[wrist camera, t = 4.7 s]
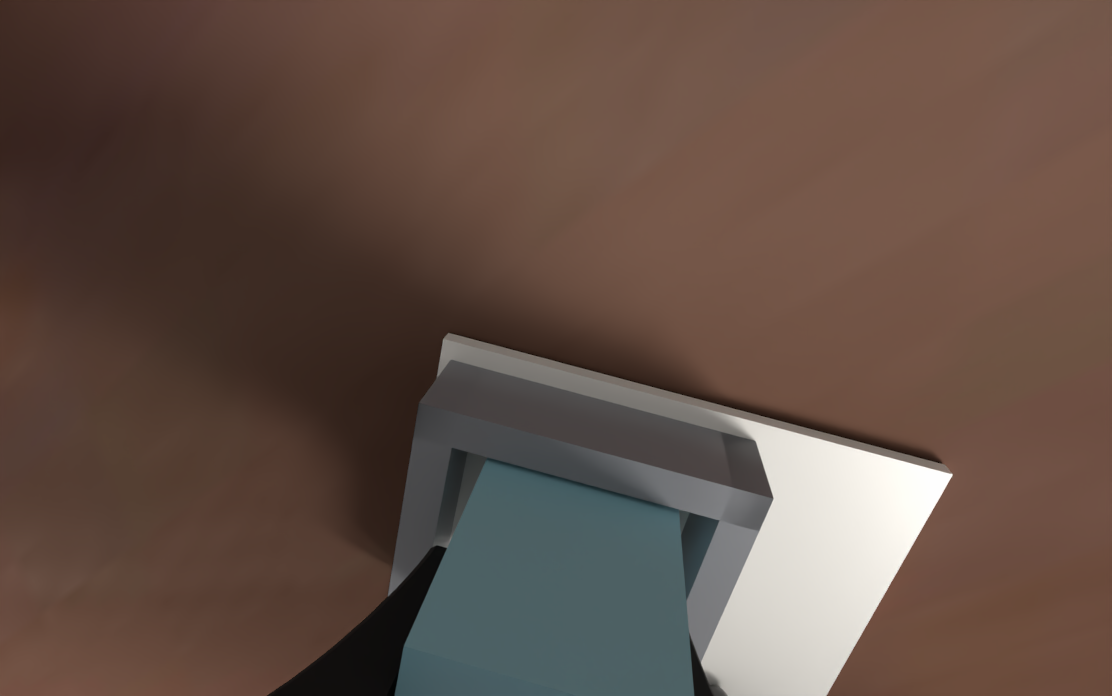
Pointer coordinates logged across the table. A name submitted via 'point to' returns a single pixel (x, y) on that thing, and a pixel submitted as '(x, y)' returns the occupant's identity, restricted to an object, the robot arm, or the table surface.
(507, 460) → the end holder
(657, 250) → the table surface
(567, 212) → the table surface
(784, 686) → the board
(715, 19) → the table surface
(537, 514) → the pale blue cube
